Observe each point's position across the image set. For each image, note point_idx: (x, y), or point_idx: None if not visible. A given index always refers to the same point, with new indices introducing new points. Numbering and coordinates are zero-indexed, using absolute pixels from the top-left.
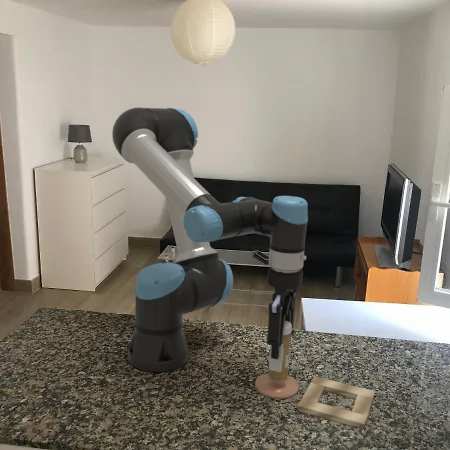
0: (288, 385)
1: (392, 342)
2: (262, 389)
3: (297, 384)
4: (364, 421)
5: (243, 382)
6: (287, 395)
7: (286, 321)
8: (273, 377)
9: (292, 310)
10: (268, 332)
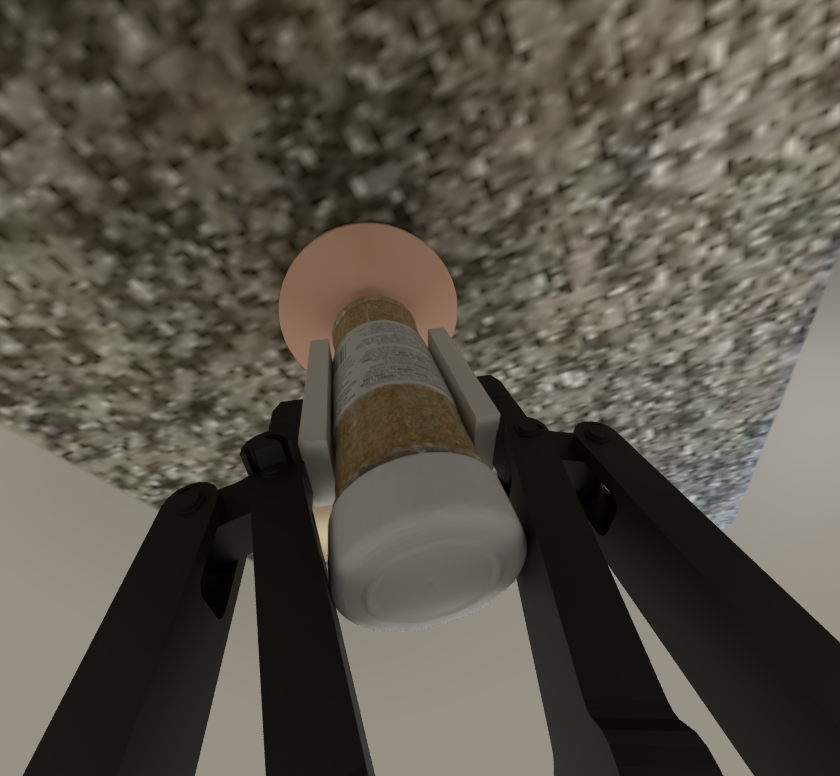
0: None
1: (737, 466)
2: (293, 288)
3: None
4: (324, 555)
5: (317, 162)
6: None
7: (501, 583)
8: (334, 338)
9: (663, 634)
10: (105, 625)
